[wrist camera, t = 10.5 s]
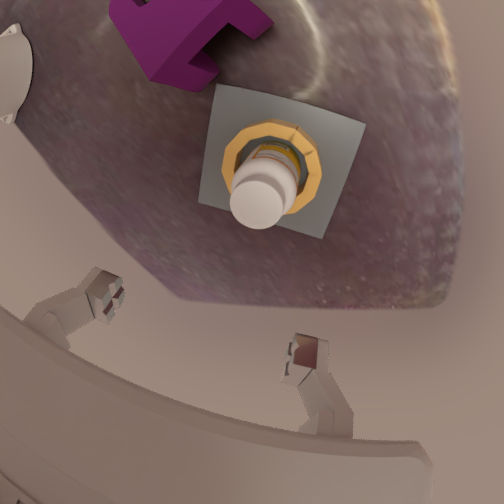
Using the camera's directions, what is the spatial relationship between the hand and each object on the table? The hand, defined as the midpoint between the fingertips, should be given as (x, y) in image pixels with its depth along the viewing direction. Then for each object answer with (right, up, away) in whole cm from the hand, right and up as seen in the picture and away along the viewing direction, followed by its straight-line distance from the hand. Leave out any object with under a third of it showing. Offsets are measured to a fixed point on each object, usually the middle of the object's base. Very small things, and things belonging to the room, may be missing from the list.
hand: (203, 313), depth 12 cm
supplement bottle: (+5, +12, +16) cm, 20 cm away
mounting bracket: (-5, +28, +8) cm, 30 cm away
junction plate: (+5, +12, +17) cm, 21 cm away
